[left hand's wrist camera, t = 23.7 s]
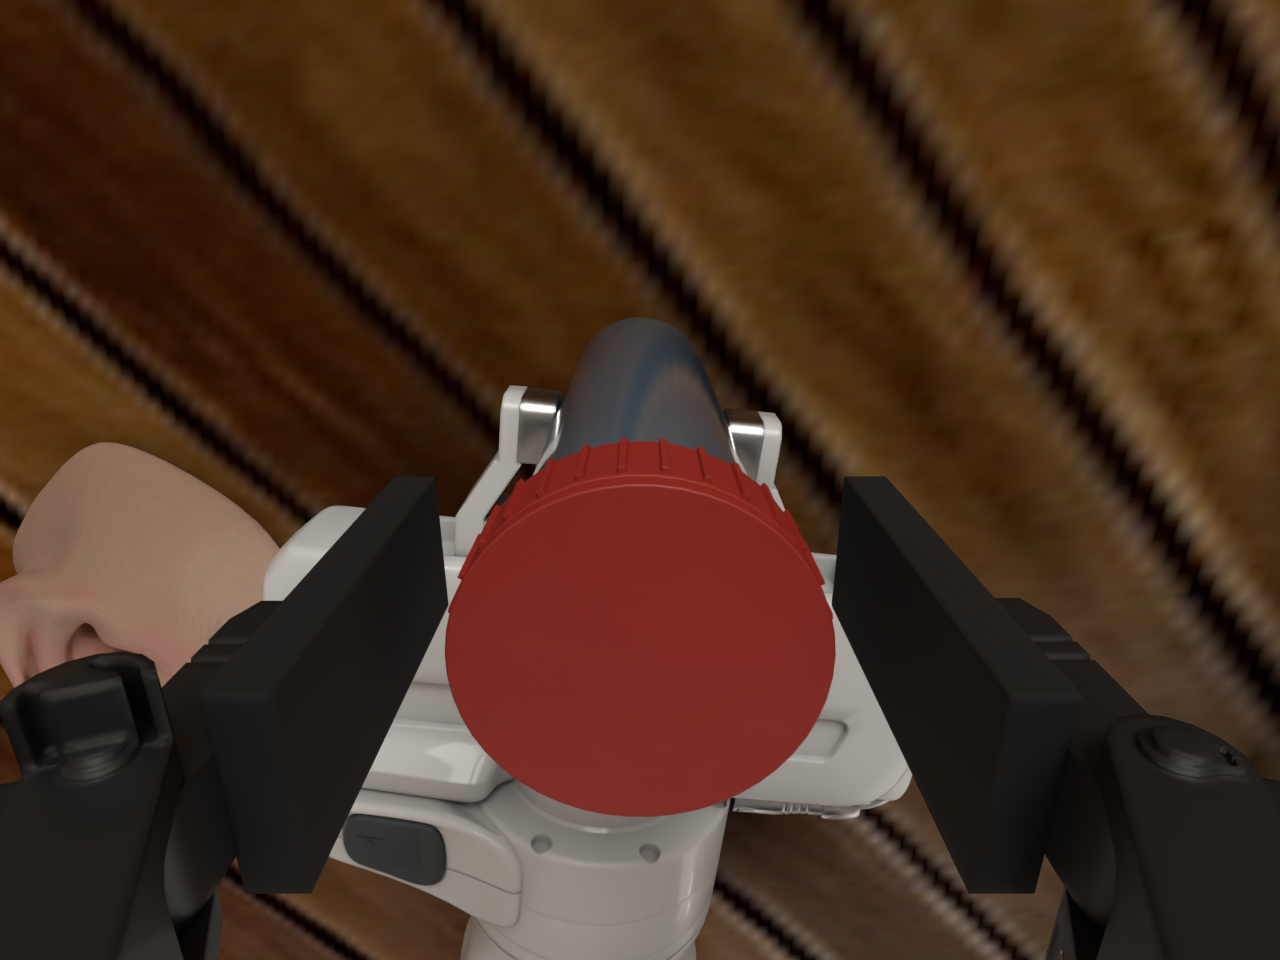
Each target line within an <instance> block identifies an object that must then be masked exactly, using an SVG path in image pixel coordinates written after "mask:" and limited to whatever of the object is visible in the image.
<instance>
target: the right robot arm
mask: <svg viewBox="0 0 1280 960" xmlns="http://www.w3.org/2000/svg"><path fill="white" fill-rule="evenodd" d="M561 399H562V392H561V391H555V390H547V389H539V388H530V387H526V386H511V385H510V386H509V388H508V389H507V391H506V392H505V393H504V396H503V401H502V407H501V415H500V437H499V450H498V452H497V453H496V455H495V456H494V458H493V459H492V461H491V462H490V463H489V465H488V466H487V468H486V469H485V471H484V472H483V474H482V475H481V476H480V478H479V479H478V481H477V482H476V484H475V485H474V486H473V488H472V489H471V491H470V493H469V494H468V496H467V498H466V500H465V501H464V503H463V505H462V506H461V508H460V510H459V511H458V513H457V515H456V517H448V516H439V517H440V527H441V536H442V546H443V556H444V565H445V575H446V585H447V594H448V604H449V605H450V603H451V601H452V599H453V597H454V595H455V593H456V591H457V588H458V586H459V584H460V582H461V579H458V578H457V577H458V574H459V572H460V570H461V568H462V566H463V564H464V562H465V560H466V558H467V556H468V554H469V552H470V550H471V548H472V546H473V544H474V542H475V540H476V537H477V535H478V534H481V532H482V530H483V528H484V526H485V524H486V522H487V520H488V518H489V516H490V513H491V511H492V509H493V508H494V506H495V505H496V504H497V505H499V506H500V507H501V506H502V505H503V503H504V502H505V501H506V499H507V498H508V497H509V496H510V495H511V494H508V493H502V492H503V491H504V489H505V488H506V486H507V485H508V483H509V482H510V481H511V479H512V478H513V476H514V475H515V473H516V472H517V470H518V469H519V468H520V466H521V465H522V463H526V464H537V462H538V459H539V457H540V454H541V452H542V449H543V447H544V444H545V442H546V439H547V437H548V434H549V432H550V429H551V427H552V424H553V422H554V419H555V417H556V414H557V412H558V409H559V407H560V404H561ZM723 413H724V416H725V418H726V421H727V423H728V426H729V428H730V431H731V433H732V436H733V438H734V441H735V443H736V446H737V449H738V451H739V454H740V456H741V459H742V461H743V464H744V466H745V469H746V471H747V474H748V476H749V477H750V478H751V479H753V480H754V481H755V482H757V483H758V484H759V485H760V486H761V485H762V484H763V483H765V484H766V485H767V486H768V487H769V489H770V491H771V494H772V496H773V498H774V500H775V501H776V503H777V504H778V505H779V507H780V508H781V509H782V511H785V509H784V506H783V504H782V501H781V499H780V496H779V494H778V491H777V489H776V487H775V485H774V479H775V473H776V468H777V462H778V457H779V451H780V446H781V440H782V426H781V422H780V421H779V419H778V418H777V416H776V415H775V413H767V412H758V411H748V410H737V409H726V408H725V409H724V411H723ZM365 509H366V508H359V507H350V506H331V507H328V508H326V509H324V510H322V511H321V512H320V513H318V514H317V515H316V516H315V517H314V518H312V519H311V520H310V521H309V522H308V523H306V524H305V525H304V526H303V527H302V528H300V529H299V530H298V531H297V532H296V533H295V534H294V535H293V536H292V537H291V538H290V539H289V540H288V541H287V542H286V543H285V544H284V545H283V546H282V548H281V549H280V550H279V551H278V552H277V553H276V555H275V556H274V558H273V559H272V560H271V562H270V564H269V566H268V568H267V570H266V572H265V576H264V580H263V594H262V595H263V601H283V600H284V599H285V598H286V597H287V596H288V595H289V593H290V592H291V591H292V590H293V589H294V588H295V587H296V586H297V585H298V583H299V582H300V581H301V580H302V579H303V578H304V577H305V576H306V575H307V573H308V572H309V571H310V570H311V569H312V568H313V567H314V566H315V565H316V563H317V562H318V561H319V560H320V559H321V558H322V557H323V556H324V555H325V553H326V552H327V551H328V550H329V549H330V548H331V547H332V546H333V545H334V543H335V542H336V541H337V540H338V539H339V538H340V537H341V536H342V535H343V533H344V532H345V531H346V530H347V529H348V528H349V527H350V526H351V524H352V523H353V522H354V521H355V520H356V519H357V518H358V517H359V516H360V514H361V513H362V512H363V511H364V510H365ZM811 554H812V556H813V558H814V560H815V562H816V564H817V566H818V568H819V570H820V572H821V574H822V576H823V578H824V581H825V584H824V585H822V586H821V587H822V589H823V592H824V594H825V597H826V600H827V602H828V604H829V606H830V608H831V611H832V613H833V619H832V621H833V626H834V631H835V650H836V657H835V666H834V674H833V679H832V683H831V687H830V690H829V694H828V698H827V700H826V703H825V705H824V707H823V710H822V712H821V714H820V716H819V719H818V720H817V722H816V724H815V725H814V727H813V728H812V730H811V732H810V733H809V735H808V737H807V738H806V739H805V740H804V742H803V743H802V744H801V745H800V747H799V748H798V749H797V750H796V751H795V753H794V754H793V755H792V756H791V757H790V758H789V759H788V760H787V761H786V762H785V763H783V764H782V765H781V766H780V767H779V768H778V769H777V770H776V771H774V772H773V773H772V774H770V775H769V776H768V777H766V778H765V779H764V780H762V781H761V782H760V783H758V784H756V785H755V786H753V787H751V788H749V789H748V790H746V791H744V792H742V793H741V794H739V795H736V796H734V797H732V798H730V799H727V800H725V801H723V802H720V803H718V804H715V805H712V806H708V807H705V808H702V809H699V810H695V811H690V812H685V813H680V814H675V815H667V816H656V817H623V816H614V815H605V814H600V813H595V812H590V811H586V810H581V809H578V808H575V807H572V806H569V805H566V804H563V803H560V802H557V801H555V800H553V799H551V798H549V797H546V796H544V795H542V794H540V793H538V792H536V791H534V790H533V789H531V788H529V787H528V786H526V785H524V784H523V783H521V782H519V781H518V780H517V779H515V778H514V777H513V776H511V775H510V774H509V773H507V772H506V771H505V770H503V769H502V768H501V767H500V766H499V765H498V764H497V763H496V762H495V761H494V760H493V759H492V758H491V757H490V756H489V755H488V754H487V753H486V752H485V751H484V750H483V749H482V747H481V746H480V745H479V744H478V742H477V741H476V740H475V739H474V737H473V736H472V735H471V733H470V731H469V730H468V728H467V726H466V725H465V723H464V721H463V720H462V718H461V716H460V713H459V711H458V709H457V706H456V704H455V702H454V699H453V697H452V693H451V689H450V685H449V681H448V678H447V672H446V662H445V636H446V628H447V623H448V618H449V613H448V608H449V605H448V607H447V609H446V612H445V614H444V616H443V618H442V620H441V622H440V624H439V626H438V628H437V630H436V633H435V635H434V637H433V639H432V641H431V643H430V645H429V647H428V649H427V651H426V653H425V656H424V658H423V660H422V662H421V664H420V666H419V668H418V670H417V672H416V674H415V677H414V679H413V681H412V683H411V685H410V687H409V689H408V691H407V693H406V695H405V698H404V700H403V702H402V704H401V706H400V708H399V710H398V712H397V714H396V716H395V718H394V721H393V723H392V725H391V727H390V729H389V731H388V733H387V735H386V737H385V739H384V742H383V744H382V746H381V748H380V750H379V752H378V754H377V756H376V758H375V760H374V763H373V765H372V767H371V769H370V771H369V773H368V775H367V777H366V779H365V781H364V783H363V786H362V788H361V790H360V792H359V794H358V796H357V798H356V800H355V802H354V804H353V807H352V809H351V811H350V813H349V815H348V817H347V819H346V821H345V823H344V825H343V828H342V830H341V832H340V834H339V836H338V838H337V840H336V842H335V844H334V846H333V848H332V851H331V853H330V855H329V857H330V858H333V859H335V860H338V861H341V862H344V863H347V864H350V865H353V866H356V867H359V868H362V869H365V870H368V871H371V872H374V873H377V874H380V875H383V876H386V877H389V878H391V879H394V880H397V881H399V882H402V883H405V884H407V885H410V886H412V887H415V888H417V889H420V890H422V891H424V892H427V893H429V894H431V895H433V896H435V897H437V898H440V899H442V900H444V901H446V902H448V903H450V904H452V905H453V906H455V907H457V908H459V909H461V910H463V911H464V912H466V913H468V914H470V918H469V921H468V923H467V926H466V930H465V934H464V939H463V944H462V949H461V956H460V960H696V947H695V939H696V938H697V936H698V934H699V933H700V931H701V929H702V926H703V924H704V921H705V918H706V916H707V913H708V910H709V906H710V901H711V897H712V892H713V887H714V882H715V877H716V872H717V867H718V861H719V856H720V851H721V845H722V841H723V836H724V830H725V825H726V820H727V815H728V813H729V812H730V811H737V812H747V813H759V814H770V815H782V814H790V813H791V814H798V813H799V814H807V815H818V817H819V818H824V819H829V820H850V819H855V818H857V817H858V816H859V814H860V810H862V809H870V808H873V807H877V806H880V805H882V804H884V803H886V802H888V801H890V800H891V801H893V800H897V799H899V798H900V797H901V796H902V795H903V794H904V793H905V791H906V789H907V788H908V786H909V784H910V780H911V777H912V773H911V771H910V769H909V767H908V765H907V763H906V760H905V758H904V756H903V754H902V752H901V750H900V748H899V746H898V744H897V742H896V739H895V737H894V735H893V733H892V731H891V729H890V727H889V725H888V723H887V721H886V718H885V716H884V714H883V712H882V710H881V708H880V706H879V704H878V702H877V700H876V698H875V695H874V693H873V691H872V689H871V687H870V685H869V683H868V681H867V679H866V677H865V674H864V672H863V670H862V668H861V666H860V664H859V662H858V660H857V658H856V656H855V654H854V651H853V649H852V647H851V645H850V643H849V641H848V639H847V637H846V635H845V633H844V630H843V628H842V626H841V624H840V622H839V620H838V618H837V616H836V614H835V612H834V609H833V607H832V605H831V604H832V594H833V585H834V575H835V565H836V556H837V555H830V554H820V553H811Z"/></svg>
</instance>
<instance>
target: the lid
mask: <svg viewBox="0 0 1280 960" xmlns="http://www.w3.org/2000/svg"><path fill="white" fill-rule="evenodd" d="M457 578H458V579H461V582H460V584H459V586H458V588H457V591H456V593H455V595H454V597H453V599H452V601H451V603H450V605H449V608H448V613H449V618H448V623H447V628H446V636H445V662H446V672H447V678H448V681H449V685H450V689H451V693H452V697H453V699H454V702H455V704H456V706H457V709H458V711H459V713H460V716H461V718H462V720H463V721H464V723H465V725H466V726H467V728H468V730H469V731H470V733H471V735H472V736H473V737H474V739H475V740H476V741H477V742H478V744H479V745H480V746H481V747H482V749H483V750H484V751H485V752H486V753H487V754H488V755H489V756H490V757H491V758H492V759H493V760H494V761H495V762H496V763H497V764H498V765H499V766H500V767H501V768H502V769H503V770H505V771H506V772H507V773H509V774H510V775H511V776H513V777H514V778H515V779H517V780H518V781H519V782H521V783H523V784H524V785H526V786H528V787H529V788H531V789H533V790H534V791H536V792H538V793H540V794H542V795H544V796H546V797H549V798H551V799H553V800H555V801H557V802H560V803H563V804H566V805H569V806H572V807H575V808H578V809H581V810H586V811H590V812H595V813H600V814H605V815H614V816H623V817H656V816H667V815H675V814H680V813H685V812H690V811H695V810H699V809H702V808H705V807H708V806H712V805H715V804H718V803H720V802H723V801H725V800H727V799H730V798H732V797H734V796H736V795H739V794H741V793H742V792H744V791H746V790H748V789H749V788H751V787H753V786H755V785H756V784H758V783H760V782H761V781H762V780H764V779H765V778H766V777H768V776H769V775H770V774H772V773H773V772H774V771H776V770H777V769H778V768H779V767H780V766H781V765H782V764H783V763H785V762H786V761H787V760H788V759H789V758H790V757H791V756H792V755H793V754H794V753H795V751H796V750H797V749H798V748H799V747H800V745H801V744H802V743H803V742H804V740H805V739H806V738H807V737H808V735H809V733H810V732H811V730H812V728H813V727H814V725H815V724H816V722H817V720H818V719H819V716H820V714H821V712H822V710H823V707H824V705H825V703H826V700H827V698H828V694H829V690H830V687H831V683H832V679H833V674H834V666H835V657H836V650H835V631H834V626H833V621H832V619H833V613H832V611H831V608H830V606H829V604H828V602H827V600H826V597H825V594H824V592H823V589H822V587H821V586H822V585H824V584H825V581H824V578H823V576H822V574H821V572H820V570H819V568H818V566H817V564H816V562H815V560H814V558H813V556H812V554H811V552H810V550H809V548H808V546H807V544H806V542H805V540H804V539H803V537H802V535H801V533H800V531H799V529H798V527H797V525H796V523H795V521H794V519H793V517H792V515H791V513H790V512H789V510H788V509H787V510H785V511H782V509H781V508H780V507H779V505H778V504H777V503H776V501H775V500H774V498H773V496H772V494H771V491H770V489H769V487H768V486H767V485H766V484H765V483H763V484H762V485H761V486H760V485H759V484H758V483H757V482H755V481H754V480H753V479H751V478H750V477H749V476H747V475H746V474H745V473H743V472H742V471H741V468H740V465H739V464H738V463H736V462H734V461H733V462H732V464H731V465H730V464H728V463H727V462H725V461H723V460H721V459H719V458H716V457H714V456H711V455H709V454H706V451H705V448H703V447H700V446H698V448H697V450H695V449H691V448H687V447H683V446H680V445H675V444H667V439H664V438H660V440H659V442H628V438H620V443H613V444H605V445H601V446H597V447H593V448H590V446H589V444H587V445H583V446H582V449H581V451H579V452H577V453H574V454H571V455H569V456H566V457H564V458H561V459H559V460H558V461H556V462H555V461H554V459H553V458H551V459H550V460H548V461H547V462H546V465H545V468H543V469H541V470H540V471H538V472H537V473H536V474H534V475H533V476H532V477H530V478H529V479H528V480H526V481H524V480H523V479H520V480H519V481H518V482H517V483H516V485H515V487H514V490H513V492H512V494H511V495H510V496H509V497H508V498H507V499H506V501H505V502H504V503H503V505H502V506H501V507H500V506H499V505H497V504H496V505H495V506H494V508H493V509H492V511H491V513H490V516H489V518H488V520H487V522H486V524H485V526H484V528H483V530H482V532H481V534H478V535H477V537H476V540H475V542H474V544H473V546H472V548H471V550H470V552H469V554H468V556H467V558H466V560H465V562H464V564H463V566H462V568H461V570H460V572H459V574H458V577H457Z"/></svg>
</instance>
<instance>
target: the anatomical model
mask: <svg viewBox="0 0 1280 960" xmlns="http://www.w3.org/2000/svg"><path fill="white" fill-rule="evenodd" d="M279 550H280V548H279V546H278V545H277V544H276V543H275V541H274V540H273V539H272V537H271V536H270V535H269V534H268V532H267V531H266V530H265V529H264V528H263V527H262V526H261V525H260V524H259V523H258V522H257V521H255V520H254V519H253V518H252V517H251V516H250V515H248V514H247V513H246V512H245V511H244V510H243V509H241V508H240V507H239V506H238V505H236V504H235V503H234V502H232V501H231V500H229V499H228V498H227V497H225V496H224V495H222V494H221V493H220V492H218V491H217V490H215V489H213V488H212V487H210V486H208V485H207V484H205V483H204V482H202V481H200V480H199V479H197V478H195V477H194V476H192V475H190V474H188V473H186V472H185V471H183V470H181V469H179V468H177V467H175V466H174V465H172V464H170V463H168V462H166V461H164V460H162V459H160V458H157V457H155V456H153V455H151V454H149V453H147V452H144V451H142V450H139V449H137V448H134V447H131V446H127V445H123V444H118V443H109V442H104V443H97V444H93V445H90V446H88V447H86V448H84V449H83V450H81V451H79V452H78V453H76V454H75V455H74V456H73V457H72V458H71V459H69V460H68V461H67V462H66V463H65V464H64V465H63V466H62V467H61V468H60V469H59V470H58V472H57V473H56V474H55V475H54V476H53V478H52V479H51V480H50V481H49V482H48V484H47V485H46V486H45V487H44V488H43V490H42V491H41V492H40V493H39V494H38V496H37V497H36V498H35V500H34V501H33V503H32V505H31V507H30V508H29V510H28V512H27V514H26V516H25V518H24V520H23V522H22V524H21V526H20V528H19V530H18V532H17V534H16V537H15V540H14V545H13V561H14V565H15V569H16V572H17V575H15V576H13V577H11V578H9V579H7V580H5V581H2V582H1V583H0V664H1V666H2V667H3V669H4V671H5V673H6V674H7V676H8V678H9V680H10V681H11V683H12V685H13V687H14V688H15V687H17V686H18V685H20V684H22V683H23V682H25V681H26V680H28V679H30V678H31V677H33V676H35V675H36V674H38V673H40V672H43V671H45V670H48V669H50V668H53V667H55V666H57V665H60V664H62V663H65V662H67V661H71V660H75V659H79V658H83V657H87V656H90V655H94V654H102V653H112V652H122V651H123V652H130V653H138V654H143V655H145V656H146V657H148V658H149V659H151V660H152V661H154V662H155V665H156V669H157V673H158V677H159V680H160V684H161V688H162V687H163V686H164V685H165V684H166V683H167V682H168V681H169V680H170V679H171V678H172V677H173V676H174V674H175V673H176V672H177V671H178V670H179V669H180V668H181V667H182V666H183V665H184V664H185V663H190V662H191V657H192V656H193V655H194V654H195V653H196V652H197V651H198V650H199V649H200V648H201V647H202V646H203V645H204V644H208V642H209V641H208V640H209V639H210V638H211V637H212V636H213V635H214V634H215V633H216V632H217V631H218V630H219V629H220V628H221V627H222V626H223V625H224V624H225V623H226V622H227V621H228V620H229V619H230V618H232V617H234V616H235V615H237V614H239V613H241V612H242V611H244V610H246V609H248V608H249V607H251V606H253V605H255V604H256V603H258V602H260V601H263V595H262V594H263V580H264V576H265V572H266V570H267V568H268V566H269V564H270V562H271V560H272V559H273V558H274V556H275V555H276V553H277V552H278V551H279Z"/></svg>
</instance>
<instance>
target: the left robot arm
mask: <svg viewBox="0 0 1280 960" xmlns="http://www.w3.org/2000/svg"><path fill="white" fill-rule="evenodd" d="M448 605H449V604H448V594H447V585H446V575H445V565H444V556H443V546H442V536H441V527H440V517H439V507H438V498H437V488H436V479H435V477H394V478H393V479H392V480H391V481H390V482H389V483H388V484H387V486H386V487H385V488H384V489H383V490H382V491H381V492H380V493H379V494H378V496H377V497H376V498H375V499H374V500H373V501H372V502H371V503H370V504H369V506H368V507H367V508H366V509H365V510H364V511H363V512H362V513H361V514H360V516H359V517H358V518H357V519H356V520H355V521H354V522H353V523H352V524H351V526H350V527H349V528H348V529H347V530H346V531H345V532H344V533H343V535H342V536H341V537H340V538H339V539H338V540H337V541H336V542H335V543H334V545H333V546H332V547H331V548H330V549H329V550H328V551H327V552H326V553H325V555H324V556H323V557H322V558H321V559H320V560H319V561H318V562H317V563H316V565H315V566H314V567H313V568H312V569H311V570H310V571H309V572H308V573H307V575H306V576H305V577H304V578H303V579H302V580H301V581H300V582H299V583H298V585H297V586H296V587H295V588H294V589H293V590H292V591H291V592H290V593H289V595H288V596H287V597H286V598H285V599H284V600H283V601H260V602H258V603H256V604H255V605H253V606H251V607H249V608H248V609H246V610H244V611H242V612H241V613H239V614H237V615H235V616H234V617H232V618H230V619H229V620H228V621H227V622H226V623H225V624H224V625H223V626H222V627H221V628H220V629H219V630H218V631H217V632H216V633H215V634H214V635H213V636H212V637H211V638H210V639H209V640H208V641H209V642H208V644H204V645H203V646H202V647H201V648H200V649H199V650H198V651H197V652H196V653H195V654H194V655H193V656H192V657H191V662H190V663H185V664H184V665H183V666H182V667H181V668H180V669H179V670H178V671H177V672H176V673H175V674H174V676H173V677H172V678H171V679H170V680H169V681H168V682H167V683H166V684H165V685H164V686H163V687H162V688H161V684H160V680H159V677H158V673H157V669H156V665H155V662H154V661H152V660H151V659H149V658H148V657H146V656H145V655H143V654H138V653H130V652H123V651H122V652H112V653H102V654H94V655H90V656H87V657H83V658H79V659H75V660H71V661H67V662H65V663H62V664H60V665H57V666H55V667H53V668H50V669H48V670H45V671H43V672H40V673H38V674H36V675H35V676H33V677H31V678H30V679H28V680H26V681H25V682H23V683H22V684H20V685H18V686H17V687H15V688H13V689H12V690H11V691H10V692H9V693H8V694H7V695H6V696H5V697H4V698H3V699H2V700H1V701H0V715H1V718H2V720H3V723H4V726H5V729H6V731H7V734H8V737H9V739H10V742H11V745H12V748H13V750H14V753H15V756H16V758H17V761H18V764H19V767H20V769H21V772H22V774H21V776H20V778H19V780H18V781H16V782H11V783H6V784H1V785H0V960H217V957H218V950H219V942H220V934H221V926H222V914H221V907H220V902H219V898H218V894H217V891H216V888H217V886H218V885H219V883H220V882H221V880H222V878H223V877H224V875H225V873H226V872H227V870H228V869H229V867H230V865H231V864H232V862H233V861H234V859H235V857H237V861H238V865H239V869H240V873H241V877H242V881H243V885H244V889H245V893H312V890H313V888H314V886H315V884H316V882H317V880H318V878H319V876H320V874H321V872H322V869H323V867H324V865H325V863H326V861H327V859H328V857H329V855H330V853H331V851H332V848H333V846H334V844H335V842H336V840H337V838H338V836H339V834H340V832H341V830H342V828H343V825H344V823H345V821H346V819H347V817H348V815H349V813H350V811H351V809H352V807H353V804H354V802H355V800H356V798H357V796H358V794H359V792H360V790H361V788H362V786H363V783H364V781H365V779H366V777H367V775H368V773H369V771H370V769H371V767H372V765H373V763H374V760H375V758H376V756H377V754H378V752H379V750H380V748H381V746H382V744H383V742H384V739H385V737H386V735H387V733H388V731H389V729H390V727H391V725H392V723H393V721H394V718H395V716H396V714H397V712H398V710H399V708H400V706H401V704H402V702H403V700H404V698H405V695H406V693H407V691H408V689H409V687H410V685H411V683H412V681H413V679H414V677H415V674H416V672H417V670H418V668H419V666H420V664H421V662H422V660H423V658H424V656H425V653H426V651H427V649H428V647H429V645H430V643H431V641H432V639H433V637H434V635H435V633H436V630H437V628H438V626H439V624H440V622H441V620H442V618H443V616H444V614H445V612H446V609H447V607H448ZM831 605H832V607H833V609H834V612H835V614H836V616H837V618H838V620H839V622H840V624H841V626H842V628H843V630H844V633H845V635H846V637H847V639H848V641H849V643H850V645H851V647H852V649H853V651H854V654H855V656H856V658H857V660H858V662H859V664H860V666H861V668H862V670H863V672H864V674H865V677H866V679H867V681H868V683H869V685H870V687H871V689H872V691H873V693H874V695H875V698H876V700H877V702H878V704H879V706H880V708H881V710H882V712H883V714H884V716H885V718H886V721H887V723H888V725H889V727H890V729H891V731H892V733H893V735H894V737H895V739H896V742H897V744H898V746H899V748H900V750H901V752H902V754H903V756H904V758H905V760H906V763H907V765H908V767H909V769H910V771H911V773H912V775H913V777H914V779H915V781H916V783H917V786H918V788H919V790H920V792H921V794H922V796H923V798H924V800H925V802H926V804H927V807H928V809H929V811H930V813H931V815H932V817H933V819H934V821H935V823H936V825H937V828H938V830H939V832H940V834H941V836H942V838H943V840H944V842H945V844H946V846H947V848H948V851H949V853H950V855H951V857H952V859H953V861H954V863H955V865H956V867H957V869H958V872H959V874H960V876H961V878H962V880H963V882H964V884H965V886H966V888H967V890H968V893H1035V889H1036V885H1037V881H1038V877H1039V873H1040V869H1041V865H1042V861H1043V857H1044V853H1045V855H1046V857H1047V858H1048V860H1049V861H1050V863H1051V865H1052V866H1053V868H1054V870H1055V871H1056V873H1057V874H1058V876H1059V878H1060V879H1061V881H1062V882H1063V884H1064V886H1065V887H1064V891H1063V894H1062V898H1061V902H1060V905H1059V909H1058V913H1057V917H1056V920H1055V924H1054V928H1053V931H1052V935H1051V939H1050V942H1049V946H1048V950H1047V955H1046V960H1059V957H1060V954H1062V955H1063V960H1280V781H1276V780H1271V779H1266V778H1262V777H1260V775H1259V773H1258V772H1257V770H1256V769H1255V768H1254V767H1253V765H1252V764H1251V763H1250V762H1249V760H1248V759H1247V758H1246V757H1245V756H1244V755H1243V754H1242V753H1241V752H1239V751H1238V750H1236V749H1235V748H1234V747H1232V746H1231V745H1230V744H1228V743H1227V742H1225V741H1224V740H1223V739H1221V738H1219V737H1217V736H1215V735H1213V734H1211V733H1209V732H1207V731H1205V730H1203V729H1201V728H1198V727H1196V726H1194V725H1191V724H1188V723H1185V722H1181V721H1178V720H1175V719H1171V718H1168V717H1164V716H1155V715H1149V714H1148V713H1147V712H1146V711H1145V710H1144V709H1143V708H1142V707H1141V706H1140V705H1139V704H1138V703H1137V702H1136V701H1135V700H1134V699H1133V698H1132V697H1131V696H1130V695H1129V694H1128V693H1127V692H1126V691H1125V690H1124V689H1123V688H1122V687H1121V686H1120V685H1119V684H1118V683H1117V682H1116V681H1115V680H1114V679H1113V678H1112V677H1111V676H1110V675H1109V674H1108V673H1107V672H1106V671H1105V670H1104V669H1103V668H1102V667H1101V666H1100V665H1099V664H1098V663H1097V662H1096V661H1095V660H1090V655H1089V654H1088V653H1087V652H1086V651H1085V650H1084V649H1083V648H1082V647H1081V646H1080V645H1079V644H1078V643H1077V642H1073V641H1072V637H1071V636H1070V635H1069V634H1068V633H1067V632H1066V631H1065V630H1064V629H1063V628H1062V627H1061V626H1060V625H1059V624H1058V623H1057V622H1056V621H1055V620H1054V619H1053V618H1052V617H1051V616H1050V615H1048V614H1046V613H1044V612H1043V611H1041V610H1039V609H1037V608H1035V607H1034V606H1032V605H1030V604H1028V603H1027V602H1025V601H1023V600H1021V599H1020V598H994V597H993V596H992V595H991V593H990V592H989V591H988V590H987V589H986V588H985V587H984V586H983V585H982V583H981V582H980V581H979V580H978V579H977V578H976V577H975V576H974V575H973V573H972V572H971V571H970V570H969V569H968V568H967V567H966V566H965V565H964V563H963V562H962V561H961V560H960V559H959V558H958V557H957V556H956V555H955V553H954V552H953V551H952V550H951V549H950V548H949V547H948V546H947V545H946V543H945V542H944V541H943V540H942V539H941V538H940V537H939V536H938V535H937V533H936V532H935V531H934V530H933V529H932V528H931V527H930V526H929V525H928V523H927V522H926V521H925V520H924V519H923V518H922V517H921V516H920V514H919V513H918V512H917V511H916V510H915V509H914V508H913V507H912V506H911V504H910V503H909V502H908V501H907V500H906V499H905V498H904V497H903V496H902V494H901V493H900V492H899V491H898V490H897V489H896V488H895V487H894V486H893V484H892V483H891V482H890V481H889V480H888V479H887V478H886V477H845V478H844V488H843V498H842V507H841V517H840V527H839V536H838V546H837V556H836V565H835V575H834V585H833V594H832V604H831Z"/></svg>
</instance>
